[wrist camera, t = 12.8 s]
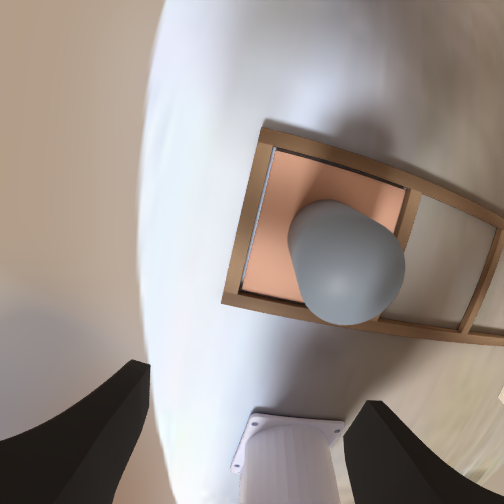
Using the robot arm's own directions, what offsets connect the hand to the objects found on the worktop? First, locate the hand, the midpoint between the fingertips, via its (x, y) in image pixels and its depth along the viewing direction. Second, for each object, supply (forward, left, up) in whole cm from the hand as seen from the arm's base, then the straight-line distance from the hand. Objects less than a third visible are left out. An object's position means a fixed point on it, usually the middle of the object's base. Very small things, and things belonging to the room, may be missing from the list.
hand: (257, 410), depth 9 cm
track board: (+4, -12, -9) cm, 16 cm away
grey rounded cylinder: (+4, -3, -9) cm, 10 cm away
